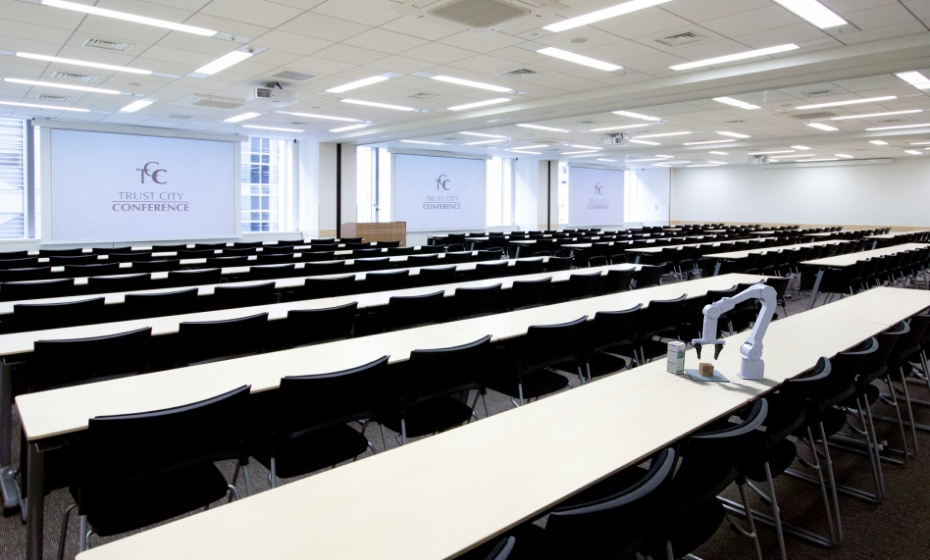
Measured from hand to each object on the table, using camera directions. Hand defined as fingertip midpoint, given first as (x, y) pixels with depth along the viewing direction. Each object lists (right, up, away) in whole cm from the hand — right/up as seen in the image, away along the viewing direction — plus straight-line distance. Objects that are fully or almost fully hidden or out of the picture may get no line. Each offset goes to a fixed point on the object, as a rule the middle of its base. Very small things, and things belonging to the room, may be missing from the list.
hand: (707, 359), depth 273 cm
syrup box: (-13, -7, +6) cm, 16 cm away
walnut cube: (0, -7, +1) cm, 8 cm away
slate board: (0, -8, +1) cm, 8 cm away
